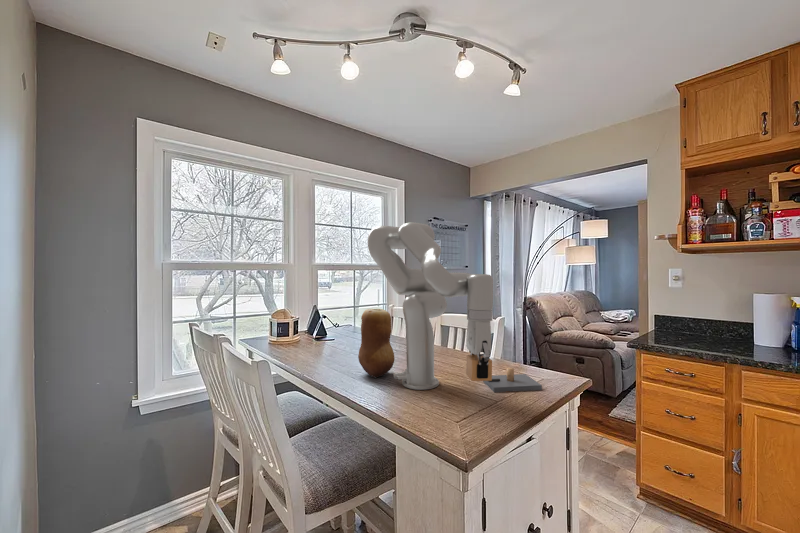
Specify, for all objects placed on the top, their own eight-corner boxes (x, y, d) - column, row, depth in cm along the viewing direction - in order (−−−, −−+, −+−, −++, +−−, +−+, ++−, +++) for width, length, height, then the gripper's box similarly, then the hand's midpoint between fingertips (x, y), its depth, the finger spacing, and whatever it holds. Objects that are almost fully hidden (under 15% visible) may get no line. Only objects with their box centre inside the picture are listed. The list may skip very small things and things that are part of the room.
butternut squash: (401, 375, 132) (400, 308, 132) (375, 383, 122) (374, 312, 122) (377, 368, 141) (376, 306, 141) (350, 375, 132) (349, 309, 132)
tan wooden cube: (471, 381, 103) (472, 360, 103) (466, 374, 109) (466, 355, 109) (491, 380, 103) (492, 360, 103) (485, 374, 109) (485, 354, 109)
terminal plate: (493, 392, 112) (493, 375, 112) (481, 380, 124) (481, 364, 124) (541, 389, 114) (541, 372, 114) (525, 378, 126) (525, 362, 126)
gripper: (460, 310, 114) (459, 365, 114) (476, 320, 97) (475, 384, 97) (482, 310, 115) (481, 365, 115) (502, 319, 98) (501, 384, 98)
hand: (478, 373), depth 106 cm, fingers closed on tan wooden cube, 5 cm apart
